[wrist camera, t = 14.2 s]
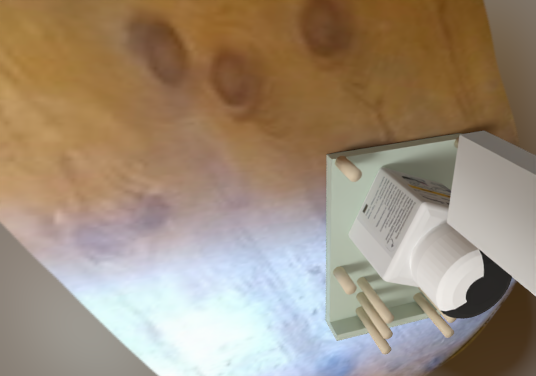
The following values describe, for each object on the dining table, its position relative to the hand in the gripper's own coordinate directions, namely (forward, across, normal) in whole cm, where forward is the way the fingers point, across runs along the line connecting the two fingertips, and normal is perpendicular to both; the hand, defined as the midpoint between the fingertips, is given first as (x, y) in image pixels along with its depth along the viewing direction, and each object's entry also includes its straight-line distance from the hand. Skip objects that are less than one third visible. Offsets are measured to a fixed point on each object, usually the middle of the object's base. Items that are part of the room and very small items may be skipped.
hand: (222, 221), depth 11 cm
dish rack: (+27, +20, -21) cm, 40 cm away
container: (+26, +20, -17) cm, 37 cm away
